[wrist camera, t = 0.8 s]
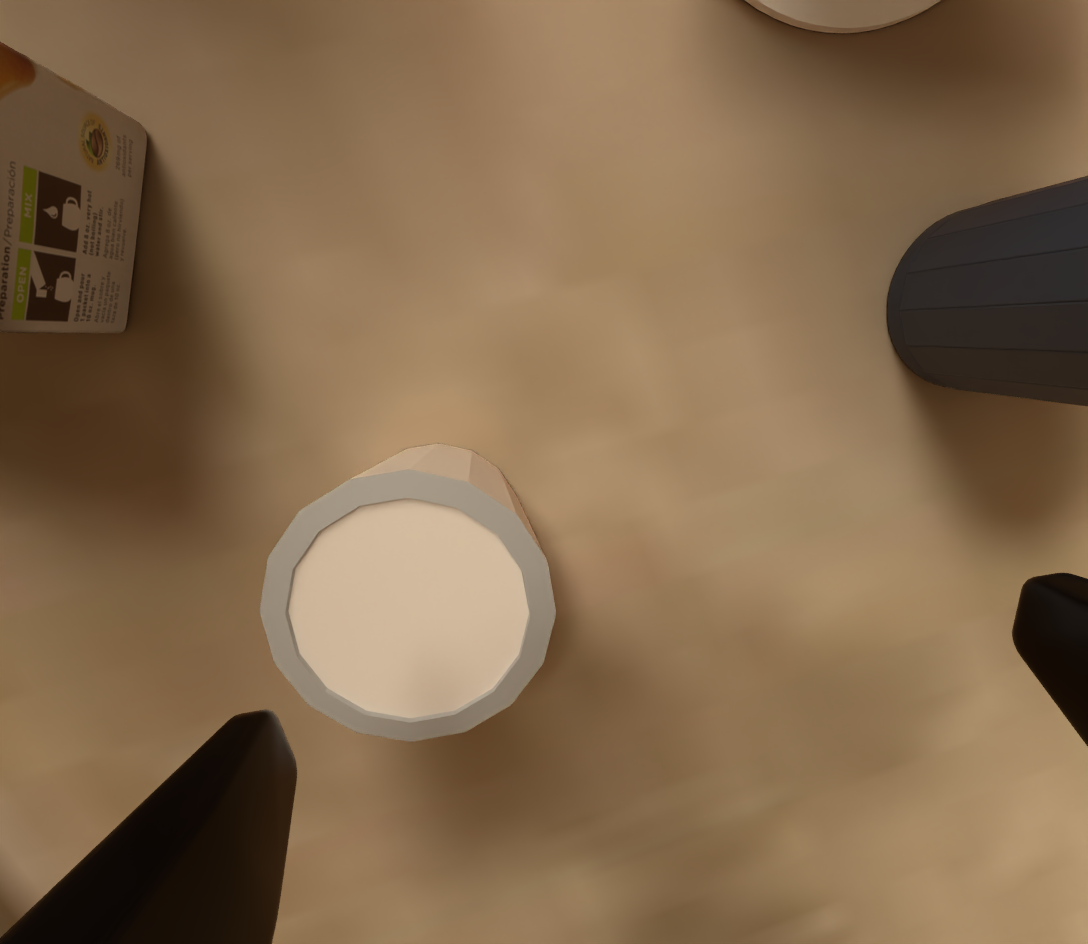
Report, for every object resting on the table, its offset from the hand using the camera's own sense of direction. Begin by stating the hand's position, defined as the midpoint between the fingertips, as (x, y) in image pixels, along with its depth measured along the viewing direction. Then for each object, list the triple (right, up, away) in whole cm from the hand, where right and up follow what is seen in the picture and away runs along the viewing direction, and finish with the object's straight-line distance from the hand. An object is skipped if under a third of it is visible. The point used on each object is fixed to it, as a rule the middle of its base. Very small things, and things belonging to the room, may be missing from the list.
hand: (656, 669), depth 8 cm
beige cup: (-5, +1, +14) cm, 15 cm away
